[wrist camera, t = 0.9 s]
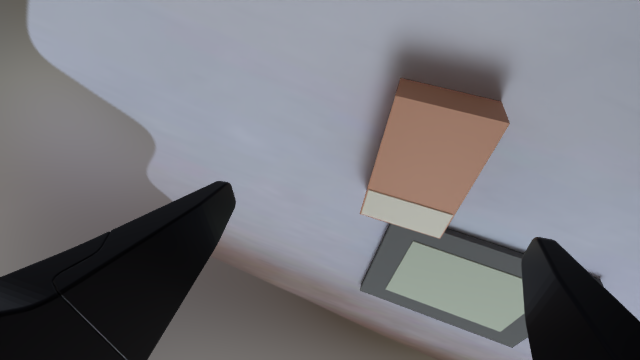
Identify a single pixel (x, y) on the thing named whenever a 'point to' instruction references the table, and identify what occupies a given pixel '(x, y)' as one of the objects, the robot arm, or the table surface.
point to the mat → (452, 281)
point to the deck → (431, 155)
